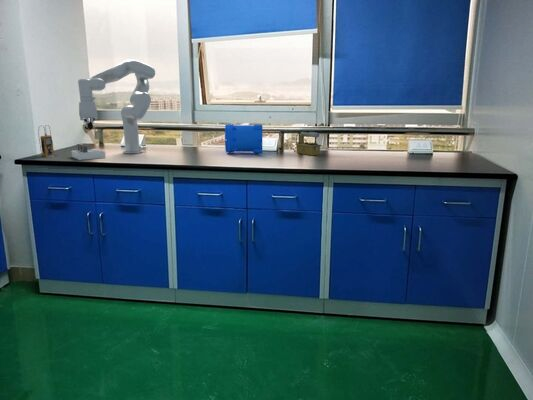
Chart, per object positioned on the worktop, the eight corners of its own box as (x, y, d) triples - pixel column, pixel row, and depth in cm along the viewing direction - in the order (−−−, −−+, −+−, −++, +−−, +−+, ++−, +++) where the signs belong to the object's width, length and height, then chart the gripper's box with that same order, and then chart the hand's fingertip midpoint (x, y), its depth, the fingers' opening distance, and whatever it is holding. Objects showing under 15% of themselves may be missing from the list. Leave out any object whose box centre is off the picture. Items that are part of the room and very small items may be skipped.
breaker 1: (81, 149, 286) (80, 143, 285) (82, 149, 284) (81, 144, 284) (77, 149, 285) (76, 144, 284) (78, 150, 283) (77, 144, 282)
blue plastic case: (225, 154, 297) (224, 125, 292) (227, 150, 318) (226, 123, 314) (262, 154, 297) (262, 125, 293) (262, 150, 319) (262, 123, 314)
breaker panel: (97, 154, 294) (96, 148, 293) (105, 157, 282) (104, 151, 281) (72, 156, 285) (71, 150, 284) (79, 159, 272) (78, 153, 271)
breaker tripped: (83, 150, 282) (83, 144, 281) (84, 150, 280) (84, 144, 279) (79, 150, 280) (79, 144, 279) (80, 151, 278) (80, 144, 277)
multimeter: (52, 158, 279) (49, 126, 274) (38, 157, 281) (34, 125, 276) (67, 155, 293) (64, 124, 288) (53, 154, 295) (50, 124, 290)
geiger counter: (312, 156, 292) (312, 133, 289) (287, 151, 312) (287, 130, 309) (322, 155, 297) (322, 132, 294) (297, 150, 318) (297, 129, 314)
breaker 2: (86, 151, 277) (85, 145, 276) (87, 151, 275) (87, 146, 274) (82, 151, 276) (81, 145, 275) (83, 152, 274) (83, 146, 273)
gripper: (97, 98, 283) (100, 127, 288) (72, 99, 274) (76, 129, 279) (100, 99, 277) (104, 128, 282) (75, 100, 269) (79, 130, 273)
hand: (90, 129), depth 281 cm, fingers closed
